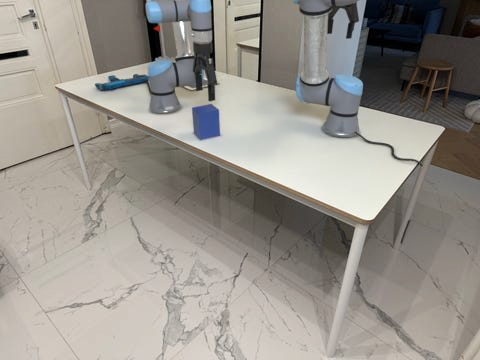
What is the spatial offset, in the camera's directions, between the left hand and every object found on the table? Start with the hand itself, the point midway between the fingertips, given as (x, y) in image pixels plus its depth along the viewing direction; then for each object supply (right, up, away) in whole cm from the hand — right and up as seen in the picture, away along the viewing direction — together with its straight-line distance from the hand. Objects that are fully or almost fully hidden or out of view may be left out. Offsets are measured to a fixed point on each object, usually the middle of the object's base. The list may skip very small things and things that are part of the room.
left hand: (205, 95), depth 142 cm
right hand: (+62, +34, +20) cm, 73 cm away
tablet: (-16, +26, +69) cm, 75 cm away
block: (0, -16, +5) cm, 16 cm away
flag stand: (-38, +45, +98) cm, 115 cm away
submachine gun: (-57, +24, +67) cm, 91 cm away
